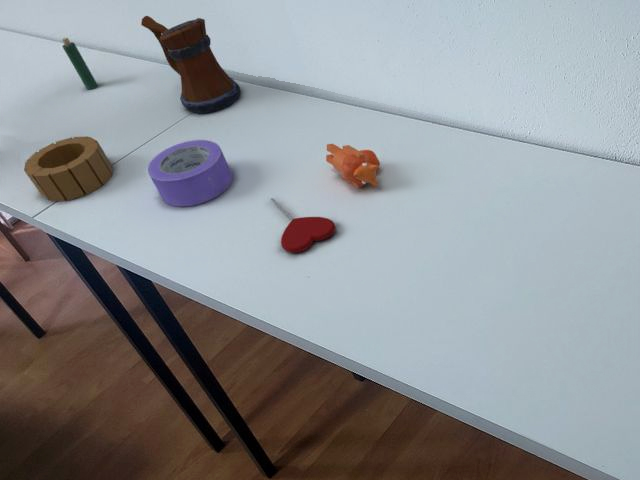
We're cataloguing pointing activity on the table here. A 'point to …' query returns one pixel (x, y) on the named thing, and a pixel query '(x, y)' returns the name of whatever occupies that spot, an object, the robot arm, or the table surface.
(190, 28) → the mug
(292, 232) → the lollipop
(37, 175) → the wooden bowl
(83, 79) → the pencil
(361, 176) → the orange toy bird
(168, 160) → the tape roll
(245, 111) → the table surface
